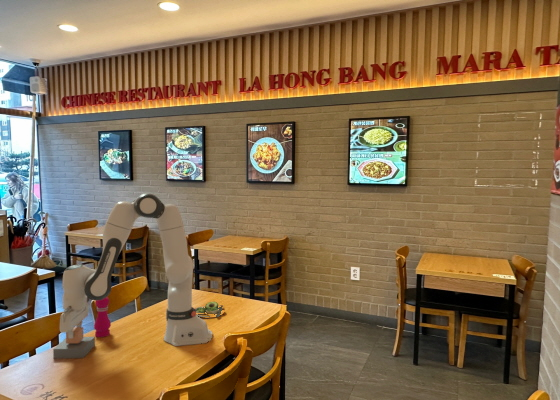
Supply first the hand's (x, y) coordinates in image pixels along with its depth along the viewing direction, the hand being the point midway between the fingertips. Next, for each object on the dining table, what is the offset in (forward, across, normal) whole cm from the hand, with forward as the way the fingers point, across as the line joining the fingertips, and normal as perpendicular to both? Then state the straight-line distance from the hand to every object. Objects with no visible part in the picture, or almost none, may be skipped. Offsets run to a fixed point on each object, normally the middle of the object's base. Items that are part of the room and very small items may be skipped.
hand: (75, 334), depth 165 cm
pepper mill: (+8, +18, -5) cm, 20 cm away
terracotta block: (+3, 0, 0) cm, 3 cm away
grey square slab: (+8, 0, 0) cm, 8 cm away
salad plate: (+8, +47, -53) cm, 71 cm away
